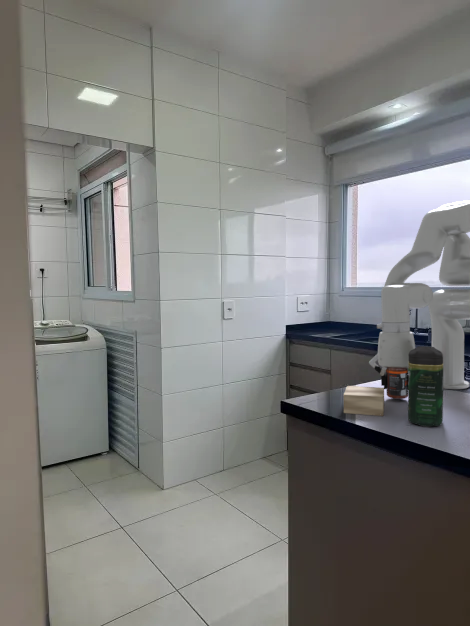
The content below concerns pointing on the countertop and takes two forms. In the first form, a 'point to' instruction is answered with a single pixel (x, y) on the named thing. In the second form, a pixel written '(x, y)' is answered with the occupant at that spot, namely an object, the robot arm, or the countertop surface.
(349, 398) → the beech block
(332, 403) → the countertop surface
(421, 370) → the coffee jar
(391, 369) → the supplement bottle
